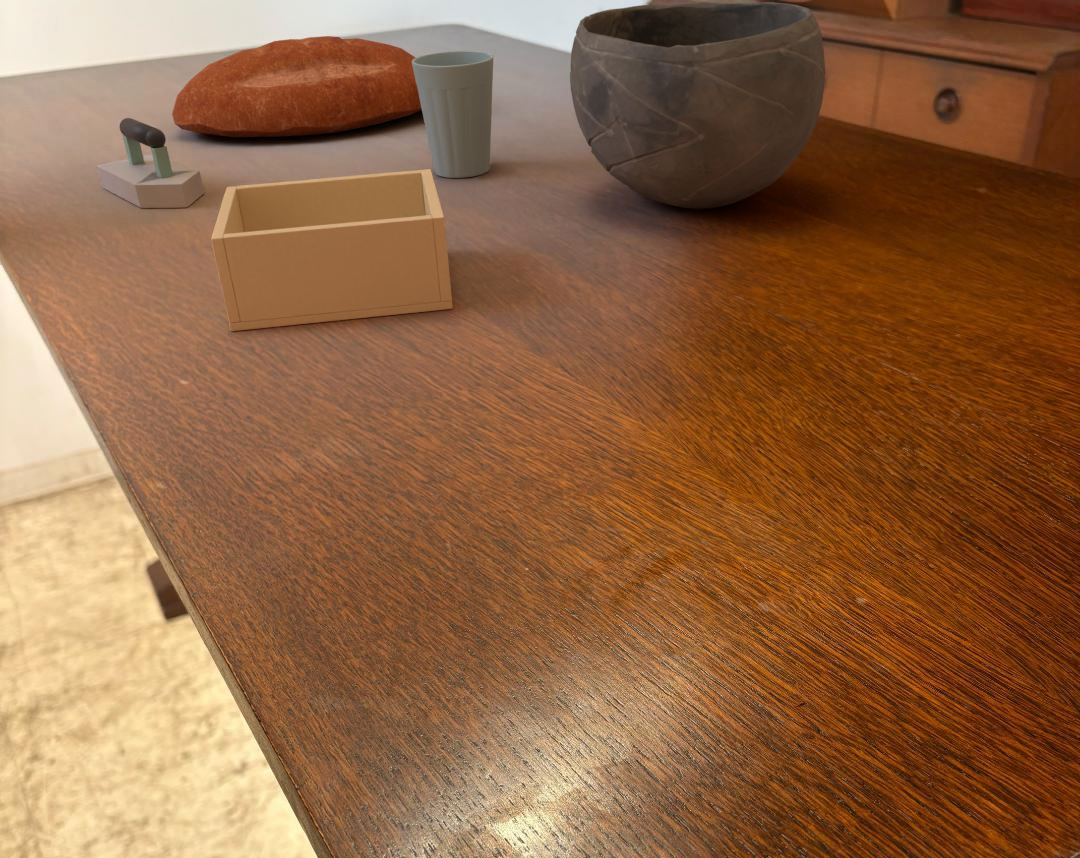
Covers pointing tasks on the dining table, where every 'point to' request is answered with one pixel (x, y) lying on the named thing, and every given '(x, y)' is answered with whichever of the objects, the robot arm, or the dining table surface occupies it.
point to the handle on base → (150, 171)
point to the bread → (300, 89)
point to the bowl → (698, 96)
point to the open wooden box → (331, 249)
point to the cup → (456, 110)
